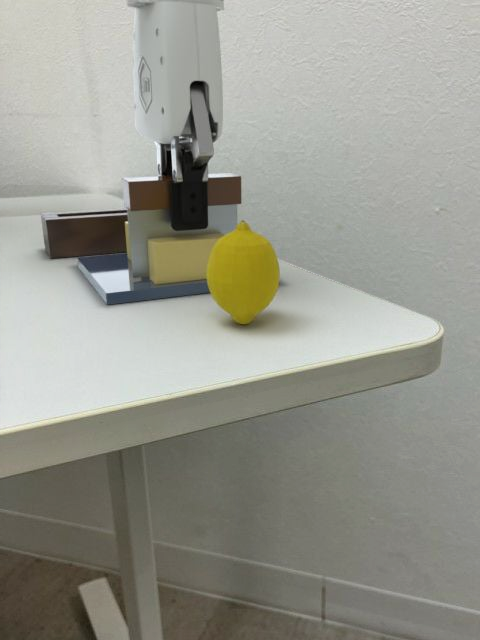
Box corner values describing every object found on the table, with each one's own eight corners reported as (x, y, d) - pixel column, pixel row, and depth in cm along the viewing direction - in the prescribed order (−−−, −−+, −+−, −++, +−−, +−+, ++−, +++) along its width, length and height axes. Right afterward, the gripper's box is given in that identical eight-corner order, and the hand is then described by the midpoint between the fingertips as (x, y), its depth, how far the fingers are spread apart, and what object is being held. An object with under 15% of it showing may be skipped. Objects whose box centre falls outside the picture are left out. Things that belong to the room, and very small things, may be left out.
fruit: (279, 312, 54) (281, 213, 51) (278, 335, 49) (280, 228, 46) (211, 310, 54) (209, 212, 51) (204, 334, 49) (200, 226, 46)
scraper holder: (50, 258, 69) (45, 219, 67) (45, 250, 72) (40, 213, 70) (179, 247, 74) (178, 211, 73) (169, 240, 78) (167, 205, 76)
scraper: (136, 281, 57) (128, 181, 54) (129, 274, 59) (121, 177, 56) (242, 269, 61) (241, 176, 58) (232, 263, 63) (231, 172, 60)
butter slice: (155, 284, 57) (153, 243, 56) (149, 278, 59) (146, 238, 57) (230, 276, 60) (230, 237, 59) (222, 271, 62) (222, 232, 60)
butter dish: (106, 304, 55) (105, 293, 55) (78, 267, 66) (77, 257, 65) (279, 284, 62) (279, 274, 61) (227, 253, 72) (227, 244, 72)
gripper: (103, -7, 56) (120, 212, 64) (157, -31, 43) (170, 249, 50) (188, -1, 59) (194, 208, 67) (262, -21, 46) (259, 241, 54)
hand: (184, 224), depth 59 cm, fingers closed on scraper, 2 cm apart
